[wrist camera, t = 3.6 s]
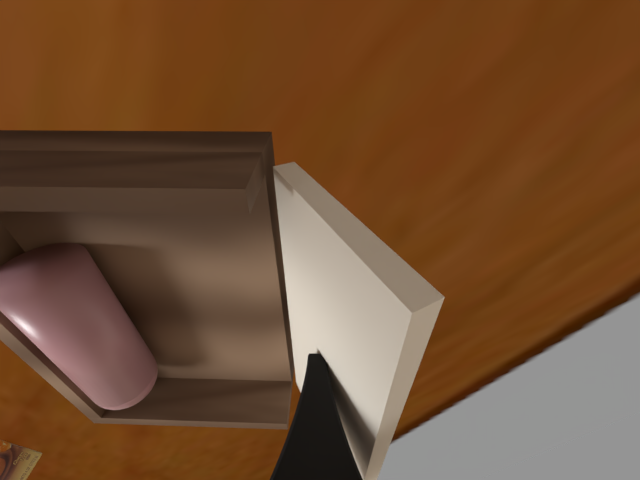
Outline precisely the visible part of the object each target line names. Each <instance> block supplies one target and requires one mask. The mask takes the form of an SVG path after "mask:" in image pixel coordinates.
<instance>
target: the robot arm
mask: <svg viewBox="0 0 640 480" xmlns="http://www.w3.org/2000/svg"><path fill="white" fill-rule="evenodd" d="M270 480H363V479H362V477H361V474H360V472H359V469H358V467H357V464H356V462H355V459H354V457H353V454H352V451H351V448H350V446H349V443H348V440H347V437H346V434H345V431H344V428H343V425H342V422H341V419H340V416H339V412H338V409H337V405H336V402H335V398H334V395H333V391H332V386H331V382H330V377H329V371H328V365H327V363H326V360H325V359H324V358H323V356H322V355H321V353H309V355H308V360H307V368H306V373H305V378H304V382H303V387H302V391H301V394H300V398H299V401H298V405H297V408H296V411H295V415H294V418H293V420H292V423H291V426H290V429H289V432H288V435H287V438H286V440H285V443H284V446H283V448H282V451H281V453H280V456H279V458H278V461H277V463H276V466H275V468H274V471H273V473H272V475H271V477H270Z"/></svg>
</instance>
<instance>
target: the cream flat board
mask: <svg viewBox="0 0 640 480" xmlns="http://www.w3.org/2000/svg"><path fill="white" fill-rule="evenodd" d="M273 173H274V182H275V192H276V201H277V210H278V219H279V229H280V238H281V247H282V256H283V265H284V275H285V284H286V293H287V302H288V312H289V321H290V330H291V339H292V349H293V358H294V367H295V376H296V384H297V386H298V388H299V390H300V393H301V391H302V387H303V382H304V378H305V373H306V368H307V360H308V355H309V353H321V355H322V356H323V358H324V359H325V360H326V363H327V365H328V371H329V377H330V382H331V386H332V391H333V395H334V398H335V402H336V405H337V409H338V412H339V416H340V419H341V422H342V425H343V428H344V431H345V434H346V437H347V440H348V443H349V446H350V448H351V451H352V454H353V457H354V459H355V462H356V464H357V467H358V469H359V472H360V474H361V477H362V479H363V480H377V478H378V475H379V473H380V470H381V467H382V465H383V462H384V459H385V456H386V454H387V451H388V448H389V446H390V443H391V440H392V438H393V435H394V432H395V430H396V427H397V424H398V422H399V419H400V416H401V413H402V411H403V408H404V405H405V403H406V400H407V397H408V395H409V392H410V389H411V387H412V384H413V381H414V379H415V376H416V373H417V370H418V368H419V365H420V362H421V360H422V357H423V354H424V352H425V349H426V346H427V344H428V341H429V338H430V335H431V333H432V330H433V327H434V325H435V322H436V319H437V317H438V314H439V311H440V309H441V306H442V303H443V301H444V298H445V297H444V296H443V295H442V294H441V293H440V292H439V291H437V290H436V289H435V288H434V287H433V286H432V285H431V284H430V283H428V282H427V281H426V280H425V279H424V278H423V277H422V276H421V275H420V274H418V273H417V272H416V271H415V270H414V269H413V268H412V267H411V266H410V265H408V264H407V263H406V262H405V261H404V260H403V259H402V258H401V257H400V256H398V255H397V254H396V253H395V252H394V251H393V250H392V249H391V248H390V247H388V246H387V245H386V244H385V243H384V242H383V241H382V240H381V239H380V238H378V237H377V236H376V235H375V234H374V233H373V232H372V231H371V230H370V229H368V228H367V227H366V226H365V225H364V224H363V223H362V222H361V221H360V220H358V219H357V218H356V217H355V216H354V215H353V214H352V213H351V212H350V211H348V210H347V209H346V208H345V207H344V206H343V205H342V204H341V203H340V202H338V201H337V200H336V199H335V198H334V197H333V196H332V195H331V194H330V193H328V192H327V191H326V190H325V189H324V188H323V187H322V186H321V185H320V184H318V183H317V182H316V181H315V180H314V179H313V178H312V177H311V176H310V175H308V174H307V173H306V172H305V171H304V170H303V169H302V168H301V167H300V166H298V165H297V164H296V163H295V162H291V163H286V164H282V165H277V166H273Z"/></svg>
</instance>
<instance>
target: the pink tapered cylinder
mask: <svg viewBox="0 0 640 480" xmlns="http://www.w3.org/2000/svg"><path fill="white" fill-rule="evenodd" d="M0 311H1V312H2V313H3V314H4V315H5V316H6V317H7V318H8V319H9V320H10V321H11V322H12V323H13V324H14V325H15V326H16V327H17V328H18V329H19V330H20V331H21V332H22V333H24V334H25V335H26V336H27V337H28V338H29V339H30V340H31V341H32V342H33V343H34V344H35V345H36V346H37V347H38V348H39V349H40V350H41V351H42V352H43V353H44V354H45V355H46V356H47V357H48V358H49V359H50V360H51V361H52V362H53V363H54V364H55V365H56V366H57V367H58V368H59V369H60V370H61V371H62V372H63V373H64V374H65V375H66V376H68V377H69V378H70V379H71V380H72V381H73V382H74V383H75V384H76V385H77V386H78V387H79V388H80V389H81V390H82V391H83V392H84V393H85V394H86V395H87V396H88V397H89V398H90V399H91V400H92V401H93V402H94V403H95V404H97V405H98V406H100V407H102V408H104V409H109V410H121V409H125V408H129V407H131V406H134V405H135V404H137V403H139V402H140V401H141V400H143V399H144V398H145V397H146V396H147V395H148V394H149V392H150V391H151V390H152V388H153V386H154V384H155V381H156V379H157V374H158V369H157V363H156V360H155V358H154V356H153V355H152V353H151V351H150V350H149V348H148V347H147V345H146V343H145V342H144V340H143V339H142V337H141V335H140V334H139V332H138V331H137V329H136V327H135V326H134V324H133V323H132V321H131V319H130V318H129V316H128V315H127V313H126V311H125V310H124V308H123V307H122V305H121V303H120V302H119V300H118V299H117V297H116V296H115V294H114V292H113V291H112V289H111V288H110V286H109V284H108V283H107V281H106V280H105V278H104V276H103V275H102V273H101V272H100V270H99V268H98V267H97V265H96V264H95V262H94V260H93V259H92V257H91V256H90V254H89V252H88V251H87V249H86V248H85V247H84V246H82V245H80V244H76V243H56V244H50V245H45V246H42V247H38V248H35V249H32V250H30V251H27V252H25V253H23V254H20V255H18V256H16V257H14V258H13V259H11V260H9V261H8V262H6V263H5V264H3V265H2V266H0Z"/></svg>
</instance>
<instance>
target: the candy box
mask: <svg viewBox="0 0 640 480" xmlns="http://www.w3.org/2000/svg"><path fill="white" fill-rule="evenodd" d="M41 455H42V453H41V452H38V451H35V450H32V449H29V448H26V447H22V446H19V445H15V444H12V443H9V442H6V441H3V440H0V480H26V479H27V478H28V476H29V474H30V473H31V471H32V470H33V468H34V467H35V465H36V463H37V462H38V460H39V459H40V457H41Z"/></svg>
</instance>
